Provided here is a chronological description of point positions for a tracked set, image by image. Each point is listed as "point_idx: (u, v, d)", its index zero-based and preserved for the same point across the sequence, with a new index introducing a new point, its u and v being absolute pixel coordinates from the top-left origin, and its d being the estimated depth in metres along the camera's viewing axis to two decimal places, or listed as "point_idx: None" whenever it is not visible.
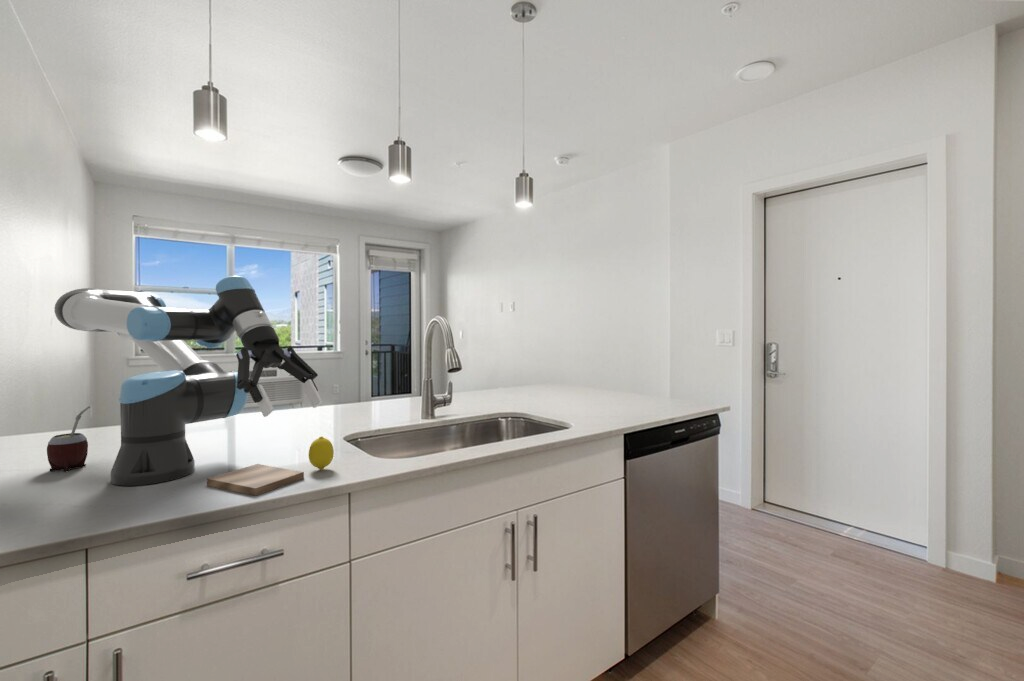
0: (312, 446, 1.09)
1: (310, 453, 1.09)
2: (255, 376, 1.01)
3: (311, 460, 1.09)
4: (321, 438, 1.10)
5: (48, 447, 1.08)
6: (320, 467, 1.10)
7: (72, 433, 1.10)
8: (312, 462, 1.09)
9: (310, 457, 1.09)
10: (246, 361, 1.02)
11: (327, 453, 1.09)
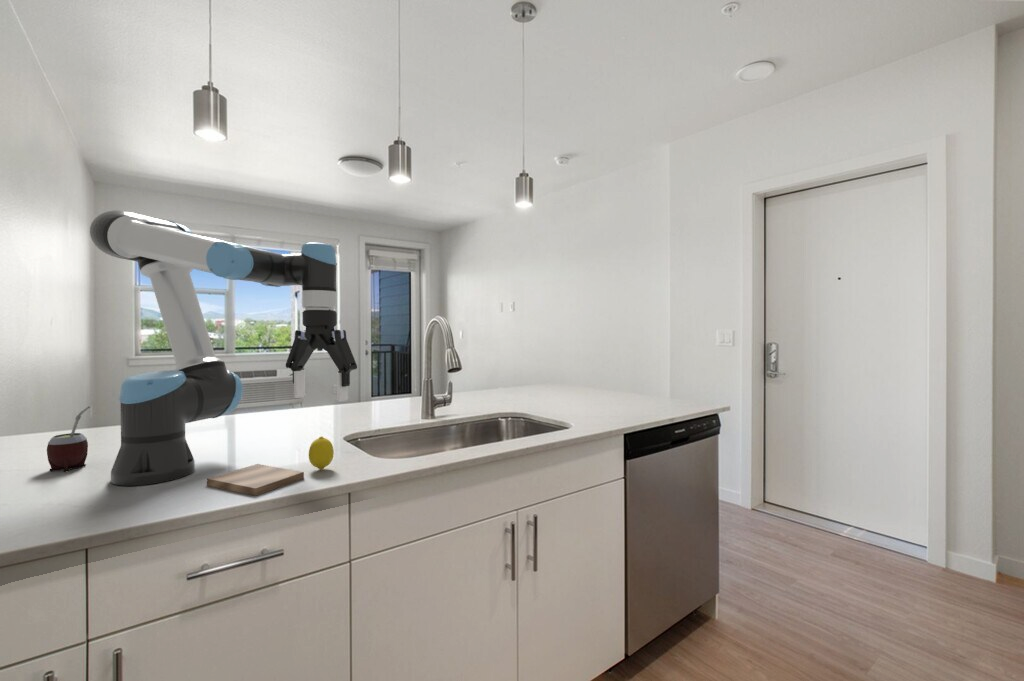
0: (312, 446, 1.09)
1: (310, 453, 1.09)
2: None
3: (311, 460, 1.09)
4: (321, 438, 1.10)
5: (48, 447, 1.08)
6: (320, 467, 1.10)
7: (72, 433, 1.10)
8: (312, 462, 1.09)
9: (310, 457, 1.09)
10: None
11: (327, 453, 1.09)
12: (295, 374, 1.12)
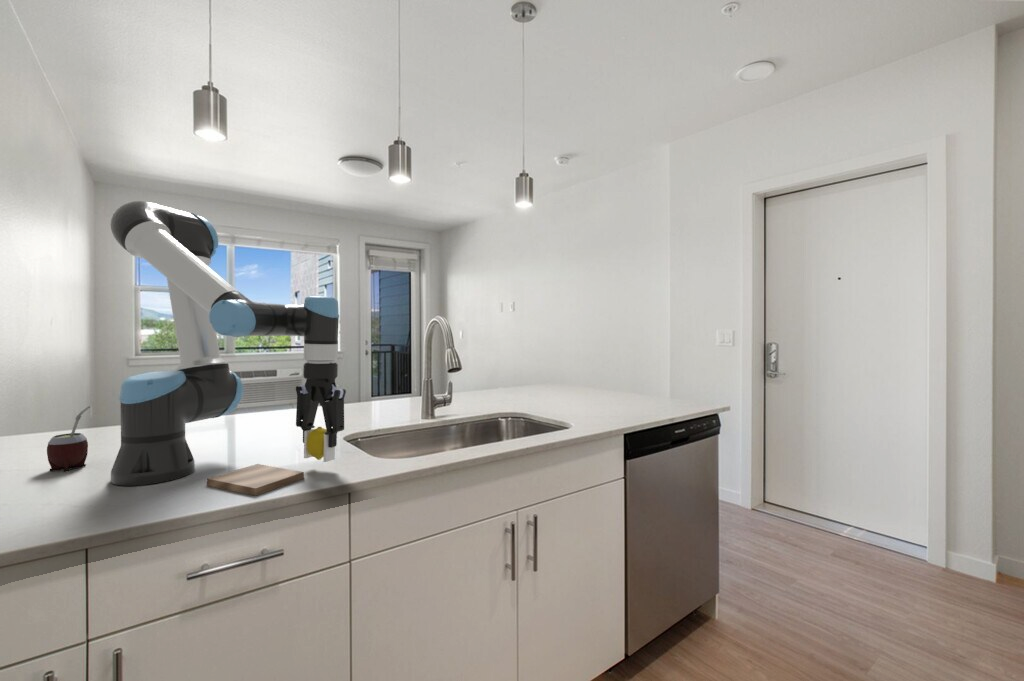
0: (310, 436, 1.09)
1: (308, 443, 1.09)
2: None
3: (309, 450, 1.09)
4: (319, 428, 1.10)
5: (48, 447, 1.08)
6: (318, 457, 1.10)
7: (72, 433, 1.10)
8: (310, 452, 1.09)
9: (308, 447, 1.09)
10: None
11: None
12: (305, 434, 1.11)
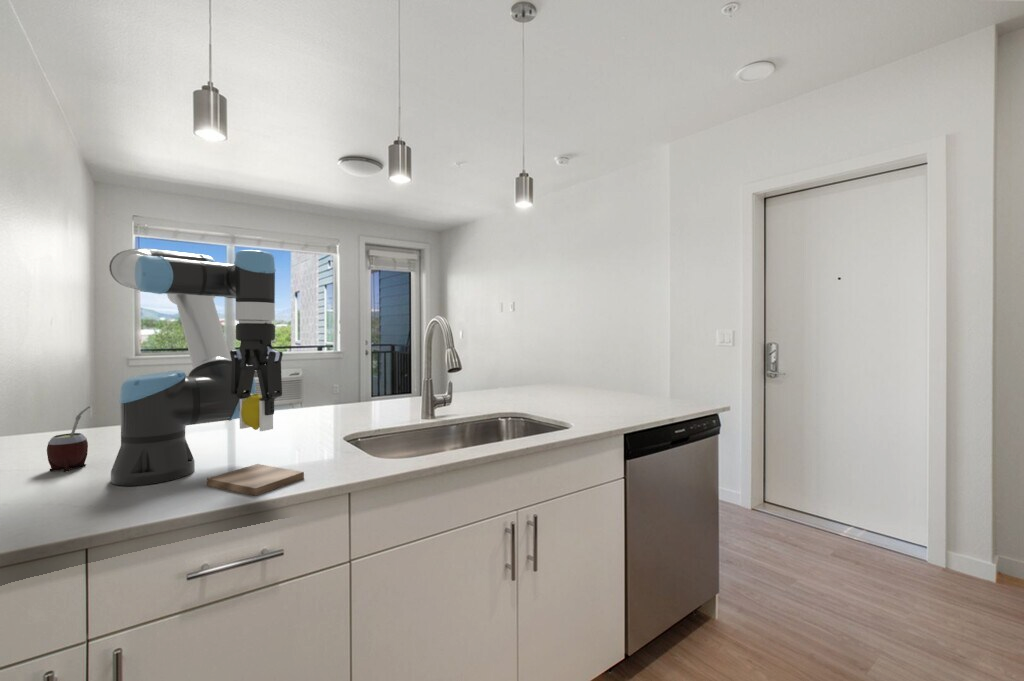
0: (245, 403, 0.99)
1: (242, 410, 0.99)
2: None
3: (243, 418, 0.99)
4: (255, 395, 1.01)
5: (48, 447, 1.08)
6: (254, 426, 1.00)
7: (72, 433, 1.10)
8: (245, 421, 0.99)
9: (242, 415, 0.99)
10: None
11: None
12: (241, 402, 1.01)
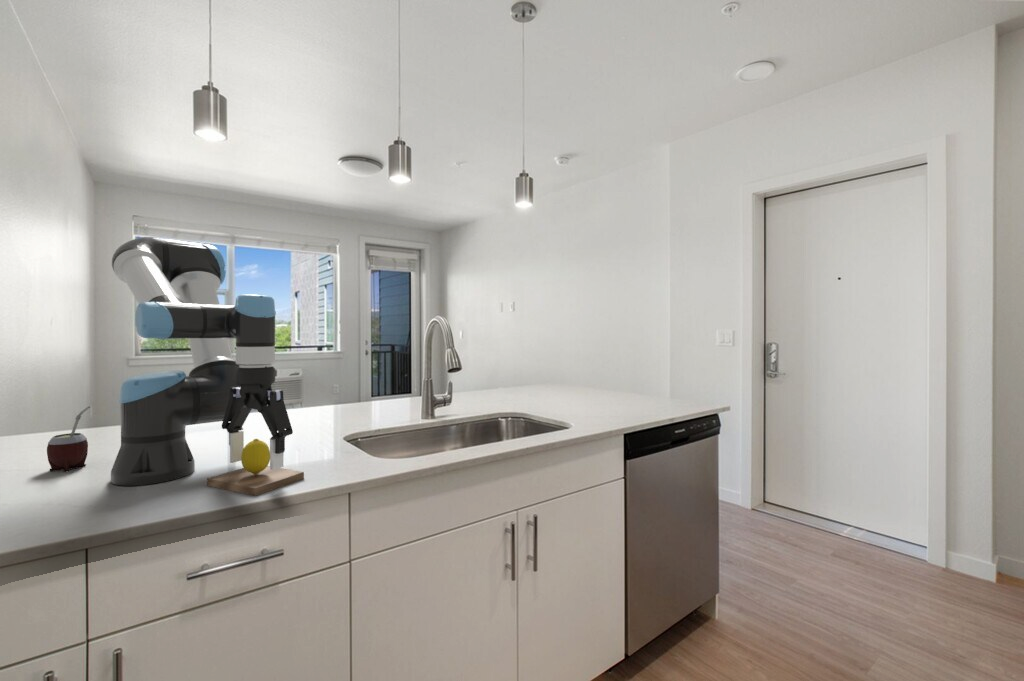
0: (245, 449, 1.00)
1: (242, 457, 0.99)
2: None
3: (243, 465, 0.99)
4: (255, 440, 1.01)
5: (48, 447, 1.08)
6: (254, 472, 1.00)
7: (72, 433, 1.10)
8: (245, 467, 0.99)
9: (242, 461, 0.99)
10: None
11: (261, 456, 1.00)
12: (231, 437, 1.03)
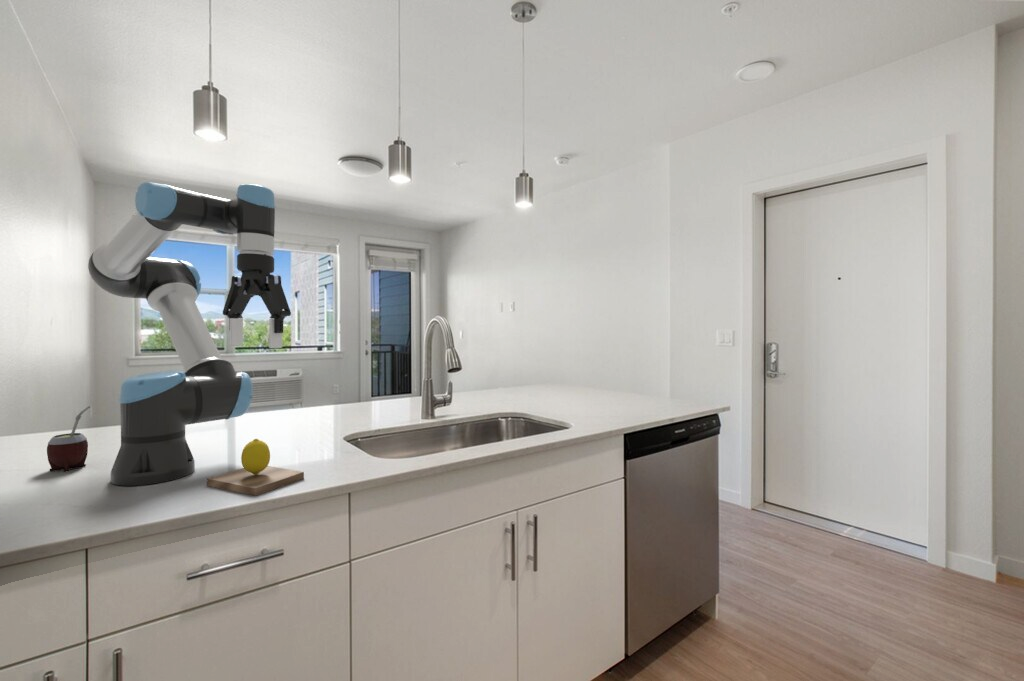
0: (245, 449, 1.00)
1: (242, 457, 0.99)
2: None
3: (243, 465, 0.99)
4: (255, 440, 1.01)
5: (48, 447, 1.08)
6: (254, 472, 1.00)
7: (72, 433, 1.10)
8: (245, 467, 0.99)
9: (242, 461, 0.99)
10: None
11: (261, 456, 1.00)
12: (231, 321, 1.09)
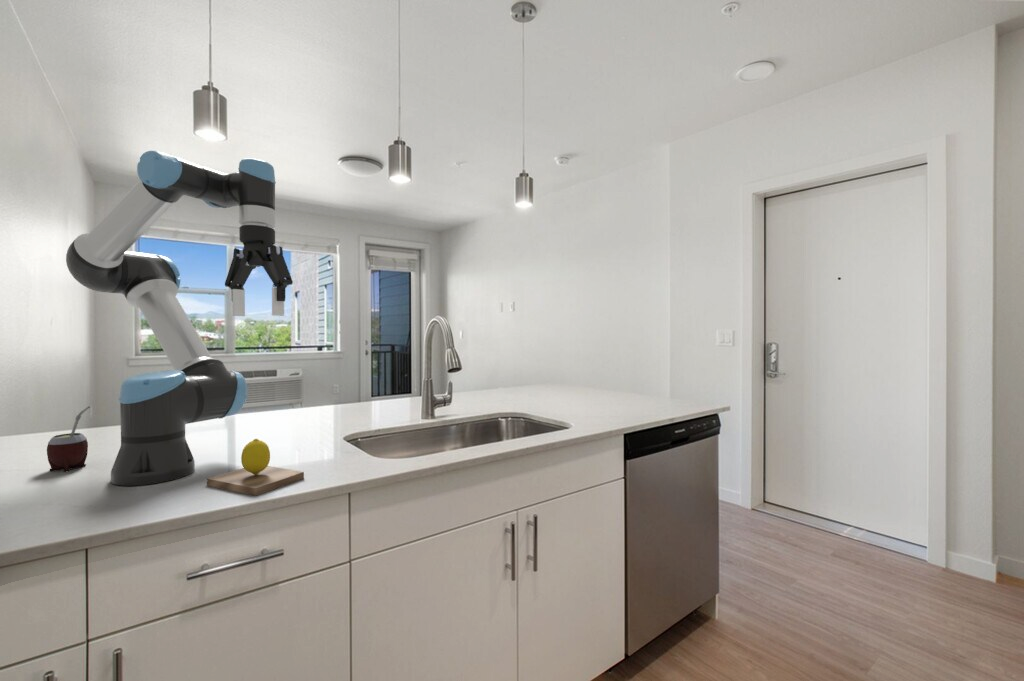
0: (245, 449, 1.00)
1: (242, 457, 0.99)
2: None
3: (243, 465, 0.99)
4: (255, 440, 1.01)
5: (48, 447, 1.08)
6: (254, 472, 1.00)
7: (72, 433, 1.10)
8: (245, 467, 0.99)
9: (242, 461, 0.99)
10: None
11: (261, 456, 1.00)
12: (233, 292, 1.13)
